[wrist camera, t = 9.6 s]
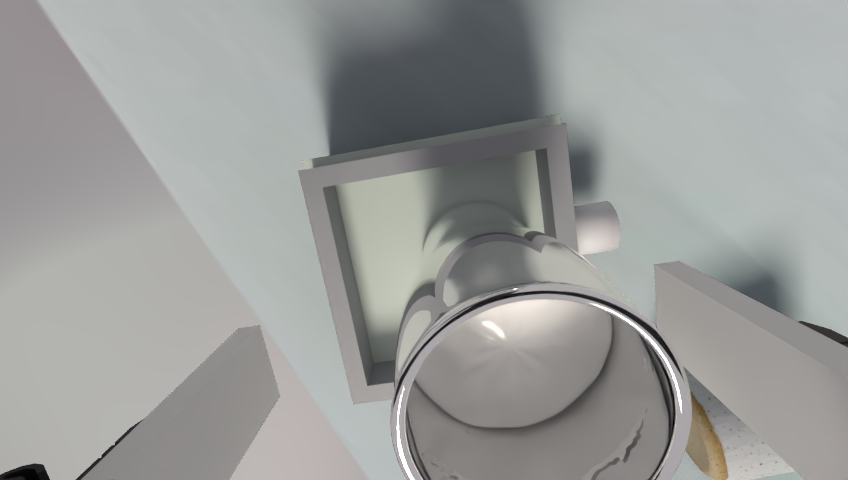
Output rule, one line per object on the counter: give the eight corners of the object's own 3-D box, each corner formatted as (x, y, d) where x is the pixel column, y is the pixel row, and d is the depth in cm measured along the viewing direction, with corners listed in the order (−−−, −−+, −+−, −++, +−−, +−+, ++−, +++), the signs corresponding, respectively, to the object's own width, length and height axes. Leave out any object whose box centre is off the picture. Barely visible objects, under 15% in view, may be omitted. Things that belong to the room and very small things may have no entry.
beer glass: (391, 237, 24) (317, 384, 9) (497, 168, 23) (604, 207, 8) (458, 333, 25) (488, 601, 10) (561, 271, 24) (759, 471, 9)
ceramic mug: (644, 355, 31) (709, 423, 24) (756, 321, 30) (861, 380, 23) (676, 469, 34) (745, 563, 26) (781, 439, 33) (884, 529, 25)
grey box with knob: (329, 157, 29) (285, 162, 21) (580, 112, 28) (641, 98, 19) (370, 343, 32) (346, 413, 23) (598, 309, 31) (657, 370, 22)
